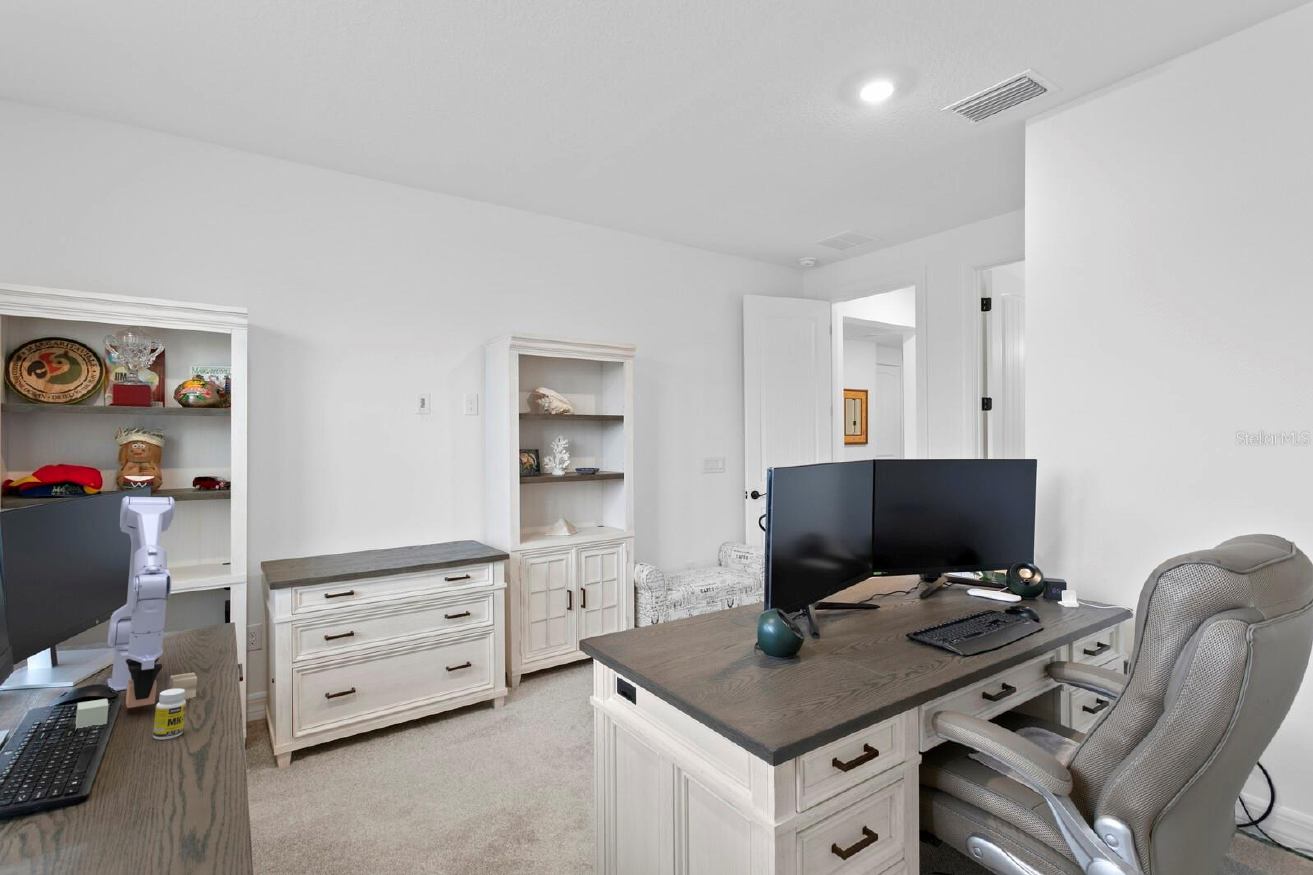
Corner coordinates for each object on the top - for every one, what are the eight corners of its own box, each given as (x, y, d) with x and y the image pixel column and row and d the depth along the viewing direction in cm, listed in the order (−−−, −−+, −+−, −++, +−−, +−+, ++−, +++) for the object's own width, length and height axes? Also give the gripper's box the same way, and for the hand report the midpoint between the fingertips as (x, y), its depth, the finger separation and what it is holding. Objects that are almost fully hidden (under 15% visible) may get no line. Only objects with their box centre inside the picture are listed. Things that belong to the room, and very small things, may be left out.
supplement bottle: (166, 741, 124) (170, 697, 125) (146, 738, 125) (150, 694, 126) (189, 732, 129) (193, 689, 129) (169, 729, 130) (173, 686, 130)
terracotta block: (125, 701, 138) (127, 680, 139) (152, 697, 142) (154, 676, 142) (127, 708, 135) (129, 686, 135) (154, 703, 138) (156, 682, 138)
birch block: (168, 696, 147) (170, 675, 148) (192, 692, 151) (194, 672, 151) (170, 701, 144) (172, 681, 144) (195, 697, 147) (197, 677, 147)
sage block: (75, 726, 129) (77, 703, 130) (104, 721, 132) (107, 698, 133) (76, 733, 126) (78, 709, 126) (106, 728, 129) (108, 705, 129)
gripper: (120, 625, 142) (114, 689, 141) (126, 640, 131) (119, 709, 130) (160, 622, 147) (154, 683, 146) (169, 636, 136) (163, 702, 135)
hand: (140, 695), depth 138 cm, fingers closed on terracotta block, 4 cm apart
